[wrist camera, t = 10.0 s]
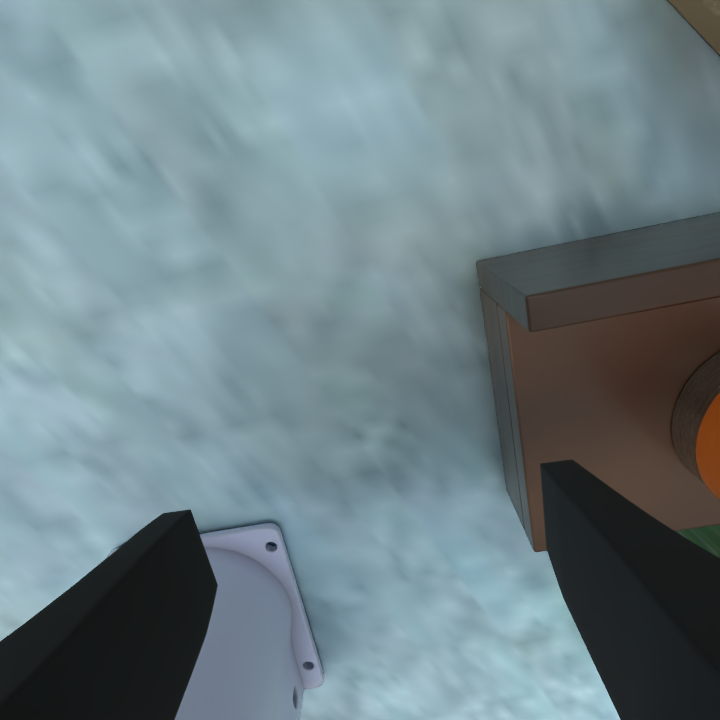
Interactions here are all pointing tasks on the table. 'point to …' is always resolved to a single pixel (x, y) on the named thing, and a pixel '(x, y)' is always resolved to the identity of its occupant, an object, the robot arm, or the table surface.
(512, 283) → the shelf
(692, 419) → the tin can
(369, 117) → the table surface
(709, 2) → the banker's lamp
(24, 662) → the robot arm
